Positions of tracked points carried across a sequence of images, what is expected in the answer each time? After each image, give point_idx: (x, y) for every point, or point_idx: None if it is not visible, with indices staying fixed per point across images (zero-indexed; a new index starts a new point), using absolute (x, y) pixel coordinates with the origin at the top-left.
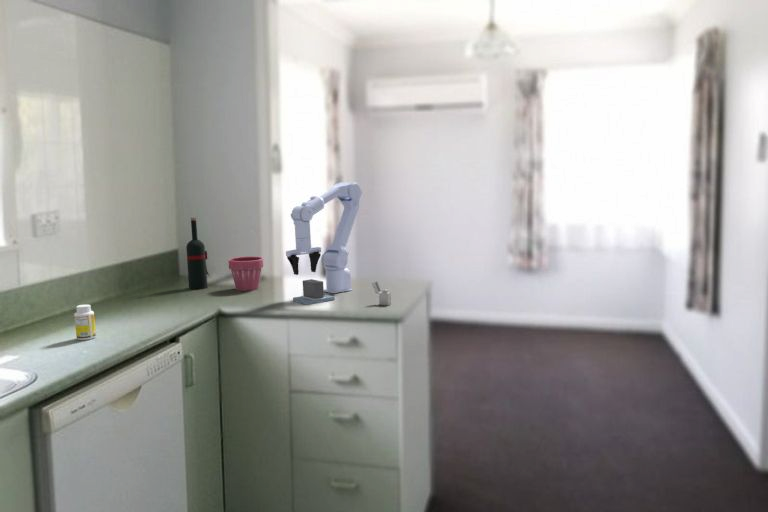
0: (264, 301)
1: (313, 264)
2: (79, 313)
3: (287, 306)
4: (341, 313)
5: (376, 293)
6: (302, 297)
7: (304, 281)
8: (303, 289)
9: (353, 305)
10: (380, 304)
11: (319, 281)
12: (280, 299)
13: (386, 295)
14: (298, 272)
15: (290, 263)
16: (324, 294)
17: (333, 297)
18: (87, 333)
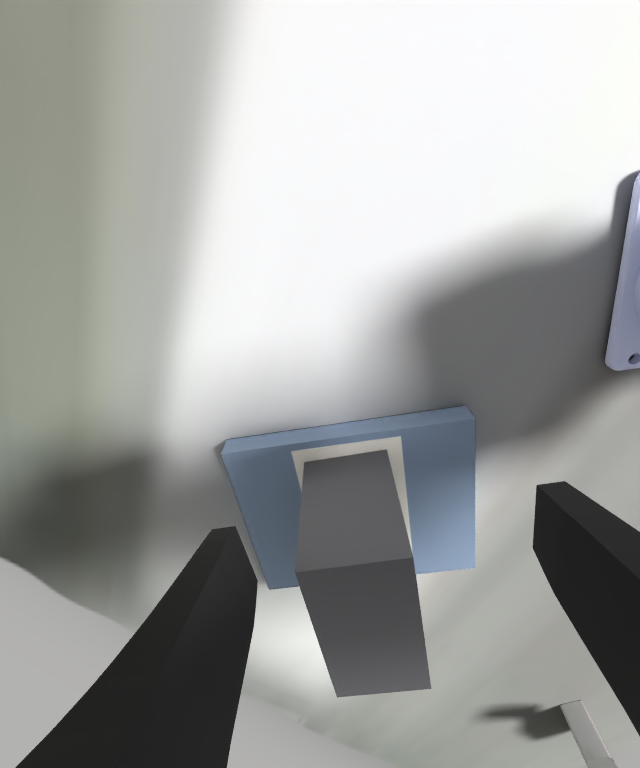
0: (6, 336)
1: (629, 674)
2: None
3: (159, 558)
4: (339, 740)
5: (588, 764)
6: (286, 486)
7: (304, 592)
8: (302, 507)
9: (460, 677)
10: (561, 709)
11: (408, 674)
12: (144, 333)
13: None
14: (254, 617)
15: (45, 744)
16: (470, 476)
17: (466, 564)
18: None
